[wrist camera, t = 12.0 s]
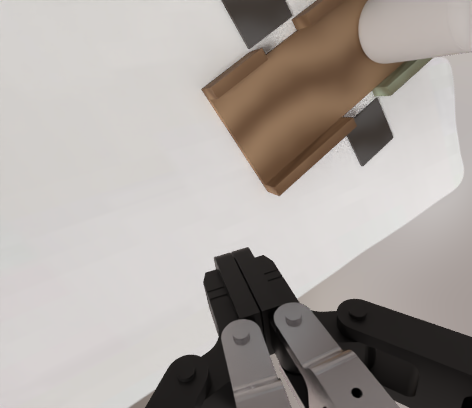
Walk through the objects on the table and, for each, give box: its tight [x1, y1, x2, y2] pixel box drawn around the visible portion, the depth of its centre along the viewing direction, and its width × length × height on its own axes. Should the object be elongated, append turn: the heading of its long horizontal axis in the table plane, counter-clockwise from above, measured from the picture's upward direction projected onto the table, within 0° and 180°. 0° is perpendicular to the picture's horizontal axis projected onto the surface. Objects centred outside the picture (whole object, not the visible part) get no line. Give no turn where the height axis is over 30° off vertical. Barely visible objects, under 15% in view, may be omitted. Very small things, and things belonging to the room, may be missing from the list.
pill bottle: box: [358, 0, 472, 64], centre depth 35 cm, size 8×8×15 cm
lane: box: [201, 0, 432, 196], centre depth 39 cm, size 26×28×4 cm
